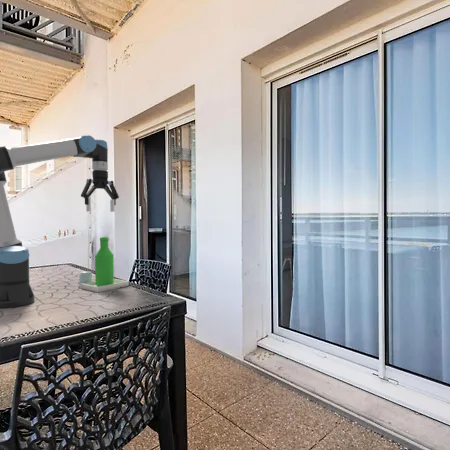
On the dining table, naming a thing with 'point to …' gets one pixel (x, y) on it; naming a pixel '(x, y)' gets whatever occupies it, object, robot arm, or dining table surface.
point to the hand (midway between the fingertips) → (100, 211)
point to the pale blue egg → (85, 277)
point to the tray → (92, 286)
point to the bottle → (104, 264)
